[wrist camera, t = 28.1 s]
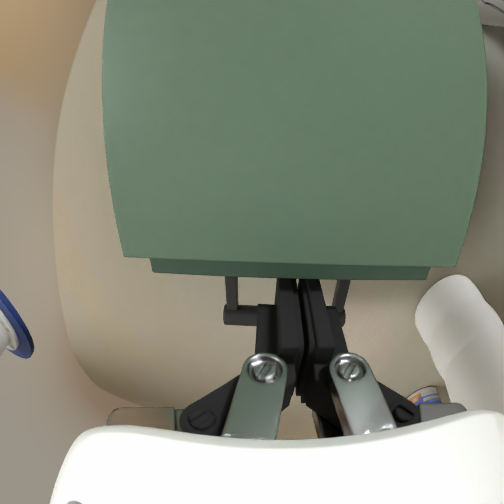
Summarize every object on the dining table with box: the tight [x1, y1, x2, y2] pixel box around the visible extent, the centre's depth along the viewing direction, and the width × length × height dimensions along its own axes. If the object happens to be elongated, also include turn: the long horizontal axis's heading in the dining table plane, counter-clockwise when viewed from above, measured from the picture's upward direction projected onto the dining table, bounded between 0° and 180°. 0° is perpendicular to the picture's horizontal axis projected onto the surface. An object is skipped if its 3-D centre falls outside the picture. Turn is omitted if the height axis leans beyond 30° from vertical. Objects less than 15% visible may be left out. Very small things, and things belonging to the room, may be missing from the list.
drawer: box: [150, 258, 430, 327], centre depth 12 cm, size 19×11×8 cm, turn 0°
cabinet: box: [102, 0, 487, 267], centre depth 9 cm, size 15×13×10 cm
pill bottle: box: [407, 387, 441, 405], centre depth 25 cm, size 5×5×10 cm
